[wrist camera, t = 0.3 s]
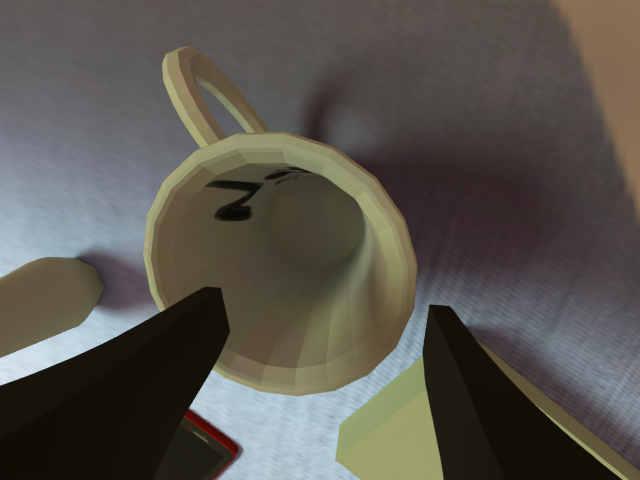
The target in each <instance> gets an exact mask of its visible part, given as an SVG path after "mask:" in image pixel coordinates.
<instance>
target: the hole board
mask: <svg viewBox="0 0 640 480" xmlns="http://www.w3.org/2000/svg"><path fill="white" fill-rule="evenodd" d="M475 339H476V338H475ZM476 340H477V339H476ZM477 342H478V343H479V344H480V345H481V347H482V348H483V349H484V350H485V351H486V352H487V354H488V355H489V356H490V357H491V358H492V359H493V361H494V362H495V363H496V364H497V365H498V366H499V368H500V369H501V370H502V371H503V372H504V373H505V374H506V375H507V376H508V377H509V378H510V380H511V381H512V382H513V383H514V384H515V385H516V386H517V387H518V388H519V389H520V390H521V391H522V392H523V393H524V394H525V395H526V396H527V397H528V398H529V399H530V400H531V401H532V402H533V403H534V404H535V405H536V406H537V407H538V408H539V409H540V410H541V411H543V412H544V413H545V414H546V415H547V416H548V417H549V418H550V419H551V420H552V421H553V422H554V423H555V424H556V425H558V426H559V427H560V428H561V429H562V430H563V431H564V432H565V433H567V434H568V435H569V436H570V437H571V438H572V439H574V440H575V441H576V442H577V443H578V444H580V445H581V446H582V447H583V448H584V449H585V450H587V451H588V452H589V453H590V454H591V455H593V456H594V457H595V458H596V459H597V460H599V461H600V462H601V463H602V464H603V465H605V466H606V467H607V468H608V469H610V470H611V471H612V472H613V473H615V474H616V475H617V476H619V477H620V478H621V479H622V480H640V471H639V470H638V469H636V468H635V467H634V466H633V465H632V464H630V463H629V462H628V461H627V460H625V459H624V458H623V457H622V456H620V455H619V454H618V453H617V452H615V451H614V450H613V449H612V448H610V447H609V446H608V445H607V444H606V443H604V442H603V441H602V440H601V439H599V438H598V437H597V436H596V435H594V434H593V433H592V432H591V431H589V430H588V429H587V428H586V427H585V426H583V425H582V424H581V423H580V422H578V421H577V420H576V419H575V418H573V417H572V416H571V415H570V414H568V413H567V412H566V411H565V410H563V409H562V408H561V407H560V406H559V405H557V404H556V403H555V402H554V401H552V400H551V399H550V398H549V397H547V396H546V395H545V394H544V393H542V392H541V391H540V390H539V389H538V388H536V387H535V386H534V385H533V384H531V383H530V382H529V381H528V380H526V379H525V378H524V377H523V376H521V375H520V374H519V373H518V372H516V371H515V370H514V369H513V368H512V367H510V366H509V365H508V364H507V363H505V362H504V361H503V360H502V359H500V358H499V357H498V356H497V355H495V354H494V353H493V352H492V351H491V350H489V349H488V348H487V347H486V346H484V345H483V344H482V343H481V342H479V341H478V340H477ZM335 460H336V461H337V462H339V463H340V464H341V465H343V466H344V467H345V468H347V469H348V470H349V471H351V472H352V473H353V474H354V475H356V476H357V477H358V478H360V479H361V480H444V479H443V472H442V466H441V460H440V454H439V450H438V445H437V440H436V435H435V430H434V425H433V420H432V415H431V410H430V405H429V400H428V395H427V390H426V385H425V376H424V365H423V356H422V357H421V358H420V359H418V360H417V361H416V362H415V363H414V364H412V365H411V366H410V367H409V368H408V369H406V370H405V371H404V372H403V373H402V374H400V375H399V376H398V377H397V378H396V379H394V380H393V381H392V382H391V383H390V384H388V385H387V386H386V387H385V388H384V389H382V390H381V391H380V392H379V393H378V394H376V395H375V396H374V397H373V398H372V399H370V400H369V401H368V402H367V403H366V404H364V405H363V406H362V407H361V408H360V409H358V410H357V411H356V412H355V413H354V414H352V415H351V416H350V417H349V418H348V419H346V420H345V421H344V422H343V423H342V424H340V429H339V436H338V444H337V451H336V459H335Z"/></svg>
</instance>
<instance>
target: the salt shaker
mask: <svg viewBox="0 0 640 480" xmlns="http://www.w3.org/2000/svg"><path fill="white" fill-rule="evenodd" d="M104 287H105V286H104V284H103V282H102V280H101V278H100V276H99V275H98V273H97V271H96V269H95V267H94V266H92V265H90V264H88V263H85V262H83V261H81V260H78V259H76V258H63V257H45V258H40V259H37V260H35V261H32V262H29V263H27V264H25V265H23V266H21V267H20V268H18V269H16V270H14V271H12V272H11V273H9V274H7V275H5V276H3V277H2V278H0V358H1V357H4V356H6V355H9V354H11V353H14V352H16V351H18V350H21V349H23V348H26V347H28V346H31V345H33V344H36V343H38V342H40V341H43V340H45V339H48V338H50V337H53V336H55V335H57V334H60V333H62V332H65V331H67V330H70V329H72V328H75V327H77V326H79V325H80V324H81V323H83V322H84V321H85V320H86V318H87V317H88V316H89V315H90V313H91V312H92V310H93V308H94V307H95V306H96V304H97V303H98V301H99V299H100V296H101V294H102V292H103V289H104Z"/></svg>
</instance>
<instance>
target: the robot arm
mask: <svg viewBox="0 0 640 480" xmlns="http://www.w3.org/2000/svg"><path fill="white" fill-rule="evenodd" d="M229 333H230V327H229V322H228V318H227V313H226V308H225V304H224V299H223V294H222V290H221V288H220V287H208V286H205V287H203V288H201V289H199V290H197V291H196V292H194V293H192V294H190V295H189V296H187V297H185V298H184V299H182V300H180V301H178V302H177V303H175V304H173V305H172V306H170V307H168V308H167V309H165V310H163V311H162V312H160V313H158V314H156V315H155V316H153V317H151V318H150V319H148V320H146V321H144V322H142V323H141V324H139V325H137V326H135V327H133V328H132V329H130V330H128V331H126V332H124V333H122V334H121V335H119V336H117V337H115V338H113V339H111V340H109V341H107V342H105V343H103V344H101V345H99V346H97V347H95V348H93V349H90V350H88V351H86V352H84V353H82V354H80V355H77V356H75V357H73V358H71V359H68V360H66V361H63V362H61V363H58V364H56V365H53V366H51V367H48V368H46V369H44V370H41V371H39V372H36V373H34V374H31V375H29V376H26V377H23V378H20V379H18V380H15V381H12V382H9V383H7V384H4V385H1V386H0V480H153V479H154V476H155V474H156V472H157V470H158V468H159V465H160V463H161V461H162V459H163V457H164V455H165V453H166V451H167V448H168V446H169V444H170V442H171V440H172V438H173V436H174V434H175V432H176V430H177V428H178V426H179V424H180V423H181V421H182V419H183V417H184V415H185V414H186V412H187V410H188V409H189V407H190V405H191V404H192V402H193V400H194V399H195V397H196V395H197V394H198V392H199V390H200V389H201V387H202V385H203V384H204V382H205V380H206V379H207V377H208V375H209V374H210V372H211V370H212V369H213V367H214V365H215V364H216V362H217V360H218V358H219V357H220V354H221V352H222V350H223V348H224V346H225V343H226V341H227V338H228V336H229ZM423 365H424V376H425V385H426V390H427V395H428V400H429V405H430V410H431V415H432V420H433V425H434V430H435V435H436V440H437V445H438V450H439V454H440V460H441V466H442V472H443V479H444V480H622V479H621V478H620V477H619V476H617V475H616V474H615V473H613V472H612V471H611V470H610V469H608V468H607V467H606V466H605V465H603V464H602V463H601V462H600V461H599V460H597V459H596V458H595V457H594V456H593V455H591V454H590V453H589V452H588V451H587V450H585V449H584V448H583V447H582V446H581V445H580V444H578V443H577V442H576V441H575V440H574V439H572V438H571V437H570V436H569V435H568V434H567V433H565V432H564V431H563V430H562V429H561V428H560V427H559V426H558V425H556V424H555V423H554V422H553V421H552V420H551V419H550V418H549V417H548V416H547V415H546V414H545V413H544V412H543V411H541V410H540V409H539V408H538V407H537V406H536V405H535V404H534V403H533V402H532V401H531V400H530V399H529V398H528V397H527V396H526V395H525V394H524V393H523V392H522V391H521V390H520V389H519V388H518V387H517V386H516V385H515V384H514V383H513V382H512V381H511V380H510V378H509V377H508V376H507V375H506V374H505V373H504V372H503V371H502V370H501V369H500V368H499V366H498V365H497V364H496V363H495V362H494V361H493V359H492V358H491V357H490V356H489V355H488V354H487V352H486V351H485V350H484V349H483V348H482V347H481V345H480V344H479V343H478V342H477V340H476V339H475V338H474V337H473V335H472V334H471V333H470V332H469V330H468V329H467V328H466V326H465V325H464V324H463V322H462V321H461V320H460V318H459V317H458V316H457V314H456V313H455V312H454V310H453V309H452V308H451V307H450V306H442V305H429V311H428V318H427V325H426V332H425V338H424V345H423Z"/></svg>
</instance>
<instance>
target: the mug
mask: <svg viewBox="0 0 640 480" xmlns="http://www.w3.org/2000/svg"><path fill="white" fill-rule="evenodd" d="M162 67H163V81H164V83H165V86H166V88H167V91H168V93H169V96H170V98H171V100H172V103H173V105H174V107H175V109H176V110H177V112H178V114H179V116H180V118H181V120H182V121H183V123H184V124H185V126H186V127H187V129H188V130H189V132H190V133H191V135H192V136H193V138H194V139H195V141H196V142H197V143H198V145H199V146H200V147H201V149H198V150H197V151H195V152H194V153H193V154H192V155H191V156H190V157H189V158H187V159H186V160H185V161H184V162H183V163H182V164H181V165H180V166H179V167H178V168H177V169H176V170H175V171H174V172H173V173H172V174H171V175H170V176H169V177H167V178H166V179H165V180H164V182H163V184H162V186H161V188H160V190H159V193H158V195H157V197H156V199H155V201H154V203H153V205H152V207H151V209H150V211H149V214H148V216H147V223H146V232H145V241H144V251H143V257H144V262H145V267H146V272H147V277H148V282H149V287H150V292H151V294H152V296H153V298H154V300H155V302H156V304H157V306H158V308H159V310H160V312H162V311H163V310H165V309H167V308H168V307H170V306H172V305H173V304H175V303H177V302H178V301H180V300H182V299H184V298H185V297H187V296H189V295H190V294H192V293H194V292H196V291H197V290H199V289H201V288H203V287H205V286H208V287H220V288H221V290H222V294H223V299H224V304H225V308H226V313H227V318H228V322H229V327H230V333H229V336H228V338H227V341H226V343H225V346H224V348H223V350H222V352H221V354H220V357H219V358H218V360H217V362H216V364H215V365H214V367H213V370H214V371H216V372H217V373H219V374H220V375H222V376H223V377H224V378H227V379H229V380H232V381H234V382H237V383H240V384H242V385H245V386H247V387H250V388H252V389H255V390H258V391H260V392H268V393H276V394H284V395H292V396H302V395H309V394H315V393H322V392H329V391H335V390H337V389H339V388H341V387H343V386H345V385H347V384H350V383H352V382H354V381H356V380H358V379H360V378H362V377H364V376H366V375H368V374H369V373H370V372H371V371H373V370H374V369H375V368H376V367H377V366H378V365H379V364H380V363H381V362H382V361H383V360H384V359H385V358H386V357H387V356H388V355H389V354H390V353H391V352H392V351H393V350H394V349H395V348H396V346H397V344H398V342H399V340H400V338H401V336H402V333H403V331H404V329H405V327H406V325H407V323H408V321H409V318H410V316H411V314H412V312H413V310H414V305H415V292H416V279H417V266H418V264H417V260H416V256H415V253H414V249H413V246H412V242H411V239H410V235H409V231H408V228H407V224H406V221H405V218H404V217H403V215H402V214H401V212H400V211H399V210H398V208H397V207H396V205H395V204H394V202H393V201H392V200H391V198H390V197H389V195H388V194H387V192H386V191H385V189H384V188H383V187H382V185H381V184H380V182H379V181H378V179H377V178H376V177H375V176H373V175H372V174H371V173H369V172H368V171H367V170H365V169H364V168H363V167H361V166H360V165H358V164H357V163H356V162H354V161H353V160H352V159H350V158H349V157H348V156H346V155H345V154H344V153H342V152H341V151H340V150H338V149H337V148H336V147H333V146H330V145H327V144H324V143H321V142H318V141H315V140H311V139H308V138H305V137H302V136H299V135H296V134H293V133H290V132H270V131H269V129H268V128H267V126H266V125H265V123H264V122H263V120H262V119H261V118H260V116H259V115H258V114H257V112H256V111H255V109H254V108H253V107H252V106H251V104H250V103H249V102H248V101H247V99H246V98H245V97H244V95H243V94H242V93H241V92H240V91H239V90H238V88H237V87H236V86H235V85H234V84H233V83H232V82H231V80H230V79H229V78H228V77H227V76H226V75H225V74H224V73H222V72H221V71H220V70H219V69H218V68H217V67H216V66H215V65H214V64H213V63H212V62H211V61H210V60H209V59H208V58H206V57H205V56H203V55H202V54H200V53H199V52H197V51H196V50H194V49H193V48H191V47H190V46H188V47H182V48H179V49H176V50H174V51H172V52H169V53H167V54H166V56H165V58H164V61H163V63H162ZM196 82H198V83H200V84H201V85H202V86H204V87H205V88H206V89H207V90H209V91H210V92H211V93H212V94H214V95H215V96H216V97H217V98H218V99H219V100H220V101H221V102H222V103H223V104H224V105H225V107H226V108H227V109H228V110H229V111H230V112H231V113H232V115H233V116H234V117H235V118H236V119H237V120H238V122H239V123H240V124H241V125H242V127H243V128H244V129H245V131H246V132H247V133H237V134H235V135H233V136H230V137H228V138H227V136H226V135H225V134H224V132H223V131H222V129H221V128H220V126H219V125H218V123H217V122H216V120H215V119H214V117H213V115H212V114H211V112H210V111H209V109H208V107H207V105H206V103H205V101H204V100H203V98H202V95H201V93H200V91H199V88H198V86H197V83H196Z"/></svg>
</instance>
